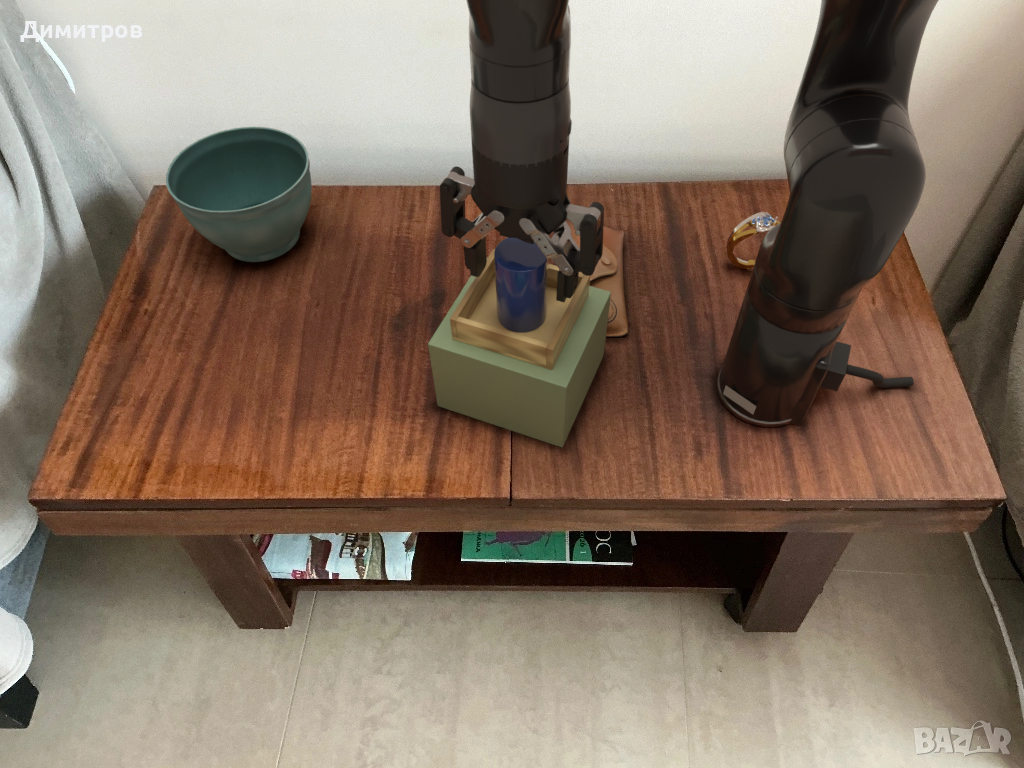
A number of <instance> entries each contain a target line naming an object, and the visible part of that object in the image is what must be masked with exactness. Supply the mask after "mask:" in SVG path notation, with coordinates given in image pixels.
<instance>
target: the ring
mask: <svg viewBox="0 0 1024 768" xmlns="http://www.w3.org/2000/svg"><path fill="white" fill-rule="evenodd" d="M781 222H782V221H780V220H779V217H778V216H775V218H774V217H773V216H772V215H771V214H770V213H769V212H767V211H760V212H757V213H754V214H752V215H750V216H749V217H747V218H746V219H743V220H742V221H741V222H740V223H738V225H737V226H735V228H734V229H733V230H732V231H731V233H730V235H728V238H727V241H726V255H727V258H728V260H729V262H730V264H732V265H734V266H736V267H737V268H740V269H743V270H747V271H748V272H752V271H753V268H754V265H755V262H756V259H748V260H744V259H741V258H740V257H737V256H736V255H735V253H734V249H735V248H736V246H737V245H738V244H740V243H741V242H742V241H744V240H746V239H748V238H750V237H752V236H755V235H757V234H759V233H762V234H764V233H768V231H769V230H770V229H772V228H773V227H774V226H776V225H777V224H779V223H781ZM747 227H749V228H751V229H747V230H745V229H746V228H747ZM752 227H754V228H752Z"/></svg>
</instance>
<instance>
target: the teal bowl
mask: <svg viewBox="0 0 1024 768" xmlns="http://www.w3.org/2000/svg"><path fill="white" fill-rule="evenodd" d="M310 162H311V161H310V157H309V152H308V150H307V148H306V146H305V145H304V143H303V142H302V141H301V140H299V138H297V137H296V136H294V135H292V134H291V133H288V132H286V131H285V130H281V129H276V128H272V127H265V126H241V127H233V128H229V129H224V130H220V131H217V132H214V133H211V134H209V135H206V136H204V137H202V138H200V139H197V140H196V141H194V142H192V143H190V144H189V145H187V146H186V147H185V148H184V149H182V150H181V151H180V152H179V153H178V154H177V155H176V156H175V157H174V158H173V159H172V161H171V163H170V164H169V166H168V169H167V171H166V175H165V185H166V189H167V190H168V192H169V195H170V196H171V197H172V199H173V200H174V202H175V203H176V204H177V206H178V207H179V209H180V211H181V213H182V214H183V216H184V218H185V219H186V220H187V221H188V223H189V224H190V225H191V226H192V227H193V228H194V229H195V230H196V231H197V232H198V233H199V234H200V235H201V236H203V237H204V239H206V240H208V241H209V242H210V243H212V244H213V245H215V246H217V247H219V248H220V249H223V250H225V252H226V254H228V255H229V256H231V257H232V258H234V259H236V260H238V261H242V262H246V263H260V262H261V263H262V262H267V261H270V260H271V261H272V260H274V259H277V258H278V257H281V256H283V255H284V254H287V252H289V251H291V249H292V248H293V247H294V246H295V245H296V244H297V242H298V240H299V238H300V236H301V235H300V234H301V228H302V227H303V225H304V223H305V222H306V219H307V216H308V213H309V210H310V206H311V202H312V201H311V200H312V189H313V188H312V187H313V185H312V176H311V175H312V174H311V170H310V169H311V168H310V167H311V165H310V164H311V163H310Z"/></svg>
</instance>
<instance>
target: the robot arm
mask: <svg viewBox="0 0 1024 768" xmlns="http://www.w3.org/2000/svg"><path fill="white" fill-rule="evenodd" d="M939 1H940V0H821V1H820V8H819V15H818V20H817V23H816V24H817V25H816V29H815V33H814V37H813V40H812V44H811V47H810V51H809V54H808V57H807V59H806V60H807V61H806V63H805V67H804V71H803V73H802V77H801V80H800V83H799V86H798V90H797V93H796V95H795V99H794V101H793V106H792V108H791V112H790V114H789V117H788V121H787V125H786V129H785V132H784V140H783V159H784V164H785V170H786V177H787V183H788V184H787V185H788V189H789V195H788V200H787V204H786V207H785V210H784V213H783V216H782V219H781V221H780V222H781V223H779V224H777V225H776V226H774V227H773V228H772V229H770V230H769V231H768V232H766V234H765V235H764V237H763V238H762V241H761V243H760V245H759V248H758V252H757V255H756V258H755V261H756V262H755V265H754V268H753V271H751V275H750V278H749V281H748V284H747V287H746V290H745V294H744V296H743V300H742V303H741V306H740V310H739V312H738V315H737V318H736V321H735V325H734V327H733V331H732V335H731V337H730V341H729V343H728V344H729V345H728V347H727V350H726V352H725V357H724V359H723V362H722V365H721V368H720V369H719V373H718V376H717V379H716V391H717V395H718V398H719V399H720V401H721V403H722V404H723V406H724V407H725V408H726V409H727V411H728V412H730V413H731V414H732V415H733V416H735V417H736V418H738V419H739V420H742V421H743V422H746V423H747V424H750V425H754V426H757V427H762V428H763V427H765V428H776V427H783V426H786V425H789V424H790V425H794V426H795V425H796V426H799V427H800V426H802V424H803V423H804V420H805V419H806V416H807V414H808V412H809V410H810V408H811V406H812V404H813V402H814V400H815V398H816V396H817V394H818V392H819V389H820V388H824V389H827V390H831V391H833V392H838V390H839V388H840V386H841V384H842V383H843V381H844V379H845V376H846V375H848V376H851V377H857V378H860V379H864V380H868V381H871V382H872V384H873V386H875V387H876V388H881V389H882V388H883V389H891V388H902V387H903V388H904V387H913V386H914V382H915V381H914V378H913V376H901V377H890V378H889V377H887V378H886V377H884V376H883V374H881V373H879V372H877V371H874V370H871V369H868V368H865V367H861V366H857V365H852V364H849V359H850V354H851V349H852V344H848V343H845V342H841V341H838V340H839V337H840V336H841V334H842V332H843V329H844V327H845V325H846V323H847V322H848V319H849V317H850V315H851V312H852V310H853V308H854V306H855V304H856V302H857V300H858V298H859V296H860V294H861V292H862V290H863V288H864V286H866V285H867V284H869V283H870V282H871V281H872V280H874V279H875V278H876V277H877V276H878V275H879V274H880V272H881V271H882V270H883V268H884V267H885V265H886V264H887V262H888V260H889V259H890V257H891V255H892V253H893V252H894V250H895V248H896V247H897V244H898V243H899V241H900V240H901V238H902V236H903V234H904V232H905V230H906V229H907V227H908V225H909V223H910V221H911V219H912V217H913V215H914V214H915V212H916V209H917V207H918V205H919V203H920V200H921V198H922V195H923V193H924V192H923V191H924V188H925V184H926V176H927V175H926V173H927V172H926V164H925V161H924V158H923V154H922V153H921V150H920V145H919V143H918V140H917V137H916V135H915V131H914V128H913V125H912V123H911V120H910V114H909V113H910V112H909V99H910V93H911V85H912V81H913V76H914V71H915V68H916V63H917V60H918V54H919V51H920V47H921V44H922V39H923V36H924V34H925V31H926V28H927V25H928V22H929V21H930V18H931V16H932V14H933V11H934V10H935V8H936V6H937V5H938V2H939ZM569 3H570V0H466V6H467V10H468V13H469V15H468V45H469V47H468V48H469V61H470V63H469V65H470V84H471V85H470V94H469V121H470V122H469V123H470V124H469V125H470V136H471V137H470V138H471V153H472V154H471V155H472V172H473V178H471V177H468V176H466V174H465V171H464V169H463V168H462V167H460V166H453V167H452V169H451V170H450V171H449V172H448V174H447V175H446V176H445V178H444V179H443V180H442V182H441V183H440V185H439V199H440V200H439V202H440V223H441V232H442V234H443V235H444V236H445V237H448V238H452V237H455V238H457V239H459V240H460V244H461V245H462V247H463V256H464V257H463V258H464V265H465V267H466V269H467V270H469V272H470V273H469V274H470V277H471V276H475V277H479V276H480V275H481V273H482V271H483V270H484V268H485V266H486V263H487V258H488V256H487V241H486V240H487V239H486V236H488V235H489V234H490V233H491V232H492V231H493V230H495V231H496V232H498V233H499V236H501V237H505V238H518V239H520V240H522V241H524V242H526V243H530V244H534V242H535V243H536V245H537V246H538V247H539V249H540V250H541V251H542V253H543V254H544V256H545V257H546V258H548V259H551V260H552V261H553V263H554V265H555V266H557V267H558V268H559V271H558V274H557V296H556V300H557V301H560V302H565V300H566V298H571V297H572V295H573V294H574V292H575V290H576V288H577V286H578V277H579V272H582V273H583V274H584V275H586V276H591V275H592V274H593V273H594V271H595V267H596V265H597V263H598V261H599V260H600V259H601V257H602V254H603V226H605V223H604V221H605V218H604V217H605V208H604V207H605V206H604V205H603V204H602V203H601V202H599V201H592V202H591V203H590V205H589V206H588V207H586V206H583V205H579V204H578V205H577V204H573V203H571V200H570V198H569V196H568V192H567V188H568V187H567V186H568V174H569V173H568V170H569V152H570V137H571V134H572V127H573V126H572V125H573V124H572V123H573V122H572V121H573V120H572V117H571V115H572V99H571V90H570V69H571V67H570V66H571V47H572V18H571V17H572V16H571V8H570V5H569ZM469 195H470V197H471V199H472V201H473V203H474V204H475V205H476V206H477V208H478V209H479V211H480V212H481V213H480V214H479V215H477V216H476V217H475V219H473V220H472V221H471V220H469V219H468V218H466V199H467V198H468V196H469ZM566 219H567V220H569V221H571V222H572V223H573V225H574V229H575V230H576V231H575V234H576V235H578V236H580V248H579V246H578V245H577V244H576V242H575V241H574V239H573V238H572V236H571V229H570V227H569V226H568V224H567V223H566V221H565V220H566ZM552 233H553V235H552V237H550V235H551V234H552ZM564 251H565V252H564ZM566 254H567V255H566Z"/></svg>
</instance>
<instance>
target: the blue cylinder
mask: <svg viewBox="0 0 1024 768" xmlns="http://www.w3.org/2000/svg"><path fill="white" fill-rule="evenodd" d="M494 249H495V251H494V260H495V281H496V303H497V318H498V320H499V322H500V324H501V325H502V326H503V327H505V328H506V329H508V330H510V331H513V332H519V333H524V332H530V331H533V330H535V329H537V328H539V327H540V326H541V325H542V324H543V323H544V321H545V319H546V315H547V281H548V264H549V258H546V257H545V256H544V254H543V253H542V251H541V250H540V249H539V247H538V246H537V245H536V243H535V242H534V244H530V243H526V242H524V241H522V240H520V239H518V238H508V237H505V238H504V239H502V240H501V241H500V242H499V243H498V244H497V245H496V247H495V248H494Z"/></svg>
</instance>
